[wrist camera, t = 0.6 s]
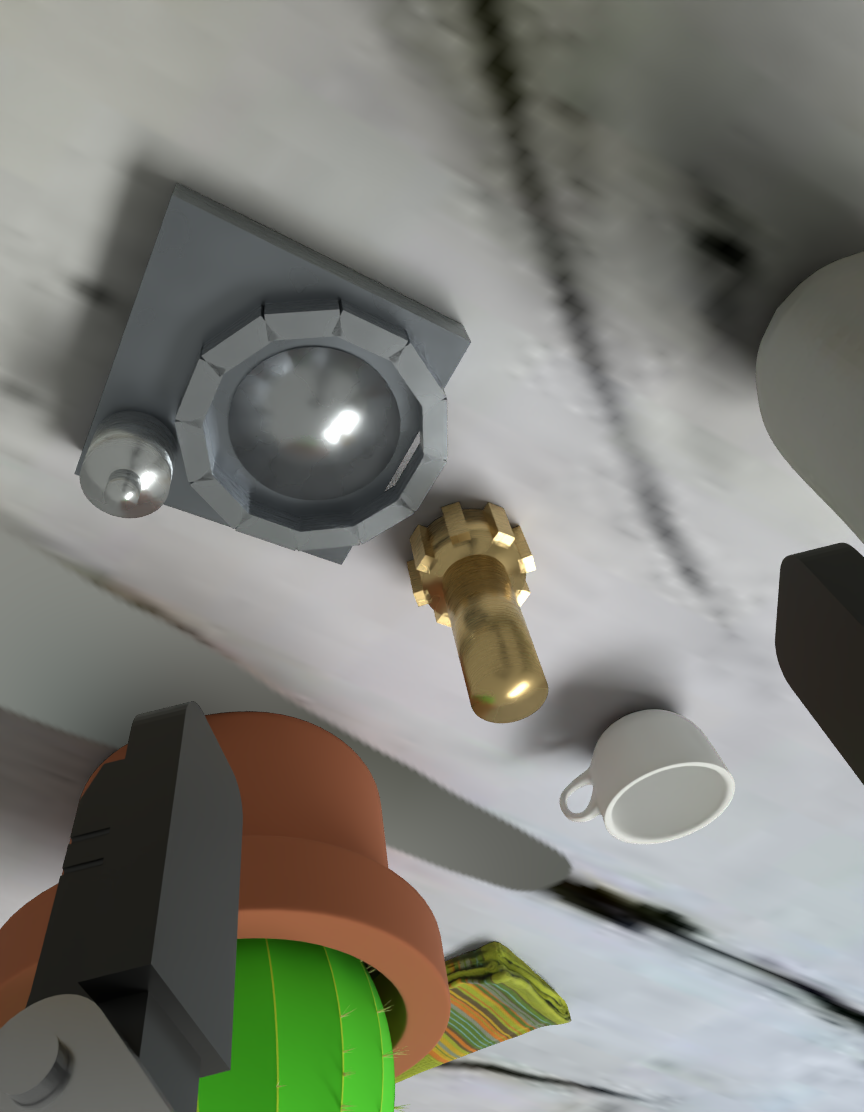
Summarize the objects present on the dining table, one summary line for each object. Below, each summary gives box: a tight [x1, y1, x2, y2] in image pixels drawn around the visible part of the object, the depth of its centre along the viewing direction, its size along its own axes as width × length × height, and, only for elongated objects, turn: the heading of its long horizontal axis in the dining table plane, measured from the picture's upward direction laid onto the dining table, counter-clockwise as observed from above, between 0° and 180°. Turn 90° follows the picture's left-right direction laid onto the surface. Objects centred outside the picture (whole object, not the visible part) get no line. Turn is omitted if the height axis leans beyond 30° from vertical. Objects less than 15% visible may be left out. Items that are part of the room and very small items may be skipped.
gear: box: [407, 502, 548, 723], centre depth 37 cm, size 6×6×10 cm
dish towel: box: [395, 942, 571, 1083], centre depth 71 cm, size 15×36×3 cm, turn 119°
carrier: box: [75, 183, 471, 565], centre depth 32 cm, size 12×13×6 cm
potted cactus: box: [0, 711, 451, 1112], centre depth 40 cm, size 22×22×25 cm
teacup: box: [560, 709, 735, 844], centre depth 50 cm, size 10×8×5 cm
